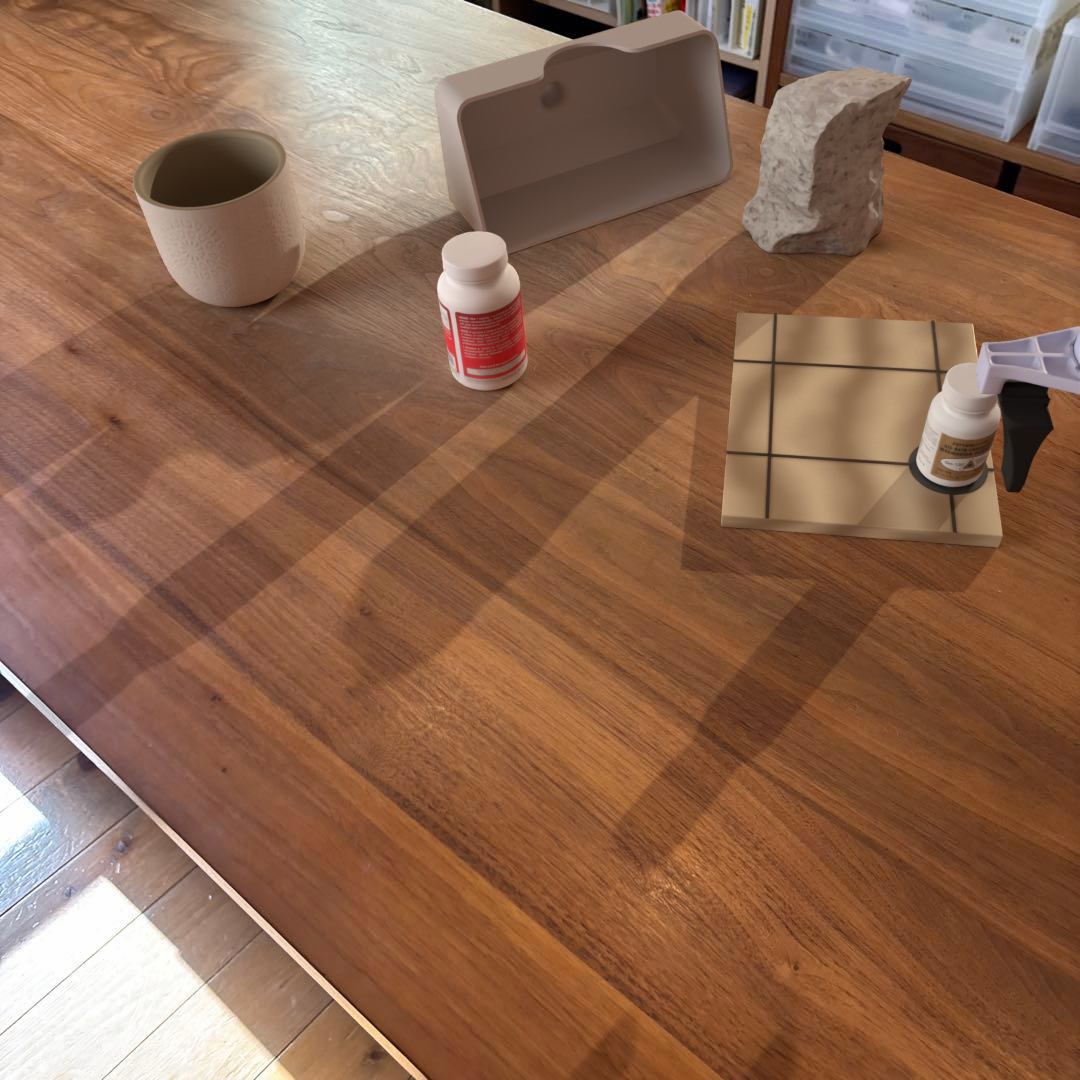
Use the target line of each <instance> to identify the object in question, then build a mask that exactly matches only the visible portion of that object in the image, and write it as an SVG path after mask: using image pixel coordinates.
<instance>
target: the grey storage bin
mask: <svg viewBox="0 0 1080 1080" xmlns="http://www.w3.org/2000/svg"><path fill="white" fill-rule="evenodd" d="M725 95H726V94H725V86H724V79H723V69H722V63H721V55H720V46H719V42H718V38H717V36H716V35H715V34H714V33H713V32H712V31H711V30H709V29H708V28H706V26H703V25H702V24H701V23H699V22H698V21H697V20H695V19H693V18H692V16H690V15H688V14H687V13H685V12H684V11H682V10H678V9H677V10H673V11H672V10H671V11H669V12H666V13H661V14H658V15H655V16H652V17H648V18H644V19H641V20H638V21H635V22H630V23H627V24H624V25H621V26H616V27H613V28H610V29H606V30H603V31H599V32H596V33H592V34H590V35H585V36H582V37H578V38H575V39H571V40H567V41H564V42H561V43H557V44H554V45H551V46H547V47H543V48H540V49H537V50H533V51H529V52H526V53H523V54H518V55H516V56H513V57H509V58H505V59H502V60H501V59H500V60H498V61H495V62H491V63H487V64H485V65H481V66H477V67H474V68H470V69H467V70H463V71H460V72H456V73H453V74H450V75H446V76H444V77H443V78H442V79H441V80H439V82H438V83H437V85H436V86H435V89H434V96H433V97H434V103H435V110H436V117H437V123H438V130H439V138H440V145H441V151H442V159H443V165H444V172H445V179H446V185H447V193H448V199H449V201H450V202H451V204H452V205H453V206H454V207H455V208H456V209H457V210H458V212H459V213H460V215H461V216H463V218H464V220H465V221H466V222H467V224H468V225H469V226H470V227H471V229H472V230H473V232H475V231H482V232H489V233H493V234H495V235H498V236H499V237H501V238H502V239H503V241H504V242H505V244H506V250H507V255H511V254H513V253H516V252H519V251H522V250H526V249H528V248H531V247H534V246H538V245H540V244H543V243H546V242H549V241H553V240H556V239H559V238H561V237H564V236H565V237H566V236H568V235H571V234H573V233H576V232H577V233H578V232H579V231H583V230H585V229H588V228H591V227H594V226H597V225H600V224H603V223H606V222H610V221H612V220H615V219H618V218H621V217H624V216H627V215H631V214H633V213H636V212H637V213H638V212H640V211H643V210H646V209H648V208H649V209H650V208H653V207H655V206H657V205H660V204H661V205H662V204H664V203H667V202H669V201H672V200H675V199H679V198H681V197H684V196H689V195H690V194H694V193H697V192H699V191H703V190H705V189H709V188H711V187H715V186H717V185H721V184H723V183H725V182H726V181H727V180H728V179H729V178H730V176H731V174H732V172H733V167H734V161H733V159H734V158H733V151H732V144H731V134H730V127H729V119H728V111H727V103H726V96H725Z"/></svg>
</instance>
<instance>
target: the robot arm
mask: <svg viewBox="0 0 1080 1080" xmlns="http://www.w3.org/2000/svg"><path fill="white" fill-rule="evenodd" d="M975 373H976V378H977V383H978V386H979V391H980V393H981V394H997V396H998V405H999V408H1000V412H1001V420H1002V432H1003V446H1002V448H1003V449H1002V461H1001V466H1000V470H1001V475H1002V479H1003V485H1004V488H1005V492H1007V493H1011V494H1015V493H1016V494H1019V493H1020V492H1021V491H1022V489H1023V488H1024V487H1025V483H1026V481H1027V478H1028V476H1029V472H1030V469H1031V467H1032V463H1033V460H1034V459H1035V456H1036V454H1037V452H1038V451H1039V449H1040V447H1041V446H1042V444H1043V443H1044V441H1045V440H1046V438H1047V437H1048V436H1049V435H1050V434H1051V432H1053V431H1054V429H1055V427H1054V423H1053V420H1052V417H1051V416H1052V415H1051V412H1050V410H1049V405H1050V402H1051V397H1050V396H1049V393H1048V391H1049V389H1053V390H1057V391H1063V392H1066V393H1071V394H1075V395H1078V396H1079V395H1080V325H1077V326H1072V327H1068V328H1065V329H1060V330H1054V331H1051V332H1047V333H1042V334H1037V335H1031V336H1028V337H1024V338H1019V339H1013V340H1005V341H984V342H982V344H981V348H980V351H979V354H978V361H977V365H976V368H975Z"/></svg>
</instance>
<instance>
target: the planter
mask: <svg viewBox="0 0 1080 1080" xmlns="http://www.w3.org/2000/svg"><path fill="white" fill-rule="evenodd" d="M293 179H294V178H293V174H292V171H291V166H290V162H289V159H288V155H287V152H286V149H285V147H284V146H283V144H282V143H281V142H280V141H279V140H277V138H275V137H274V136H271V135H269V134H267V133H264V132H262V131H258V130H255V129H246V128H218V129H216V128H215V129H209V130H204V131H200V132H196V133H192V134H188V135H185V136H182V137H179V138H177V139H175V140H172V141H170V142H168V143H166V144H164V145H162V146H160V147H159V148H158V149H156V150H154V151H153V152H152V153H150V154H149V155H148V156H147V157H146V158H145V159H144V160H143V161H141V163H140V164H139V165H138V167H137V168H136V170H135V173H134V175H133V179H132V187H133V190H134V193H135V196H136V198H137V201H138V203H139V206H140V208H141V211H142V213H143V216H144V218H145V221H146V223H147V226H148V228H149V231H150V234H151V237H152V239H153V242H154V244H155V245H156V247H157V250H158V253H159V255H160V257H161V259H162V262H163V264H164V266H165V267H166V269H167V271H168V273H169V275H170V276H171V277H172V279H173V280H174V281H175V282H176V284H177V285H178V286H179V287H180V288H181V289H182V290H183V291H184V292H186V294H188V295H189V296H191V297H193V298H194V299H196V300H198V301H200V302H201V303H205V304H208V305H211V306H215V307H222V308H239V307H240V308H241V307H246V306H247V307H248V306H251V305H255V304H259V303H261V302H264V301H267V300H268V299H271V298H273V297H275V296H276V295H277V294H280V292H282V291H283V290H285V289H286V288H287V287H288V286H289V285H290V284H291V282H292V281H294V279H295V278H296V277H297V275H298V274H299V271H300V270H301V267H302V265H303V261H304V256H305V250H306V249H305V248H306V236H305V227H304V226H305V225H304V222H303V217H302V213H301V212H302V211H301V208H300V202H299V198H298V195H297V191H296V187H295V183H294V180H293Z"/></svg>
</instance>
